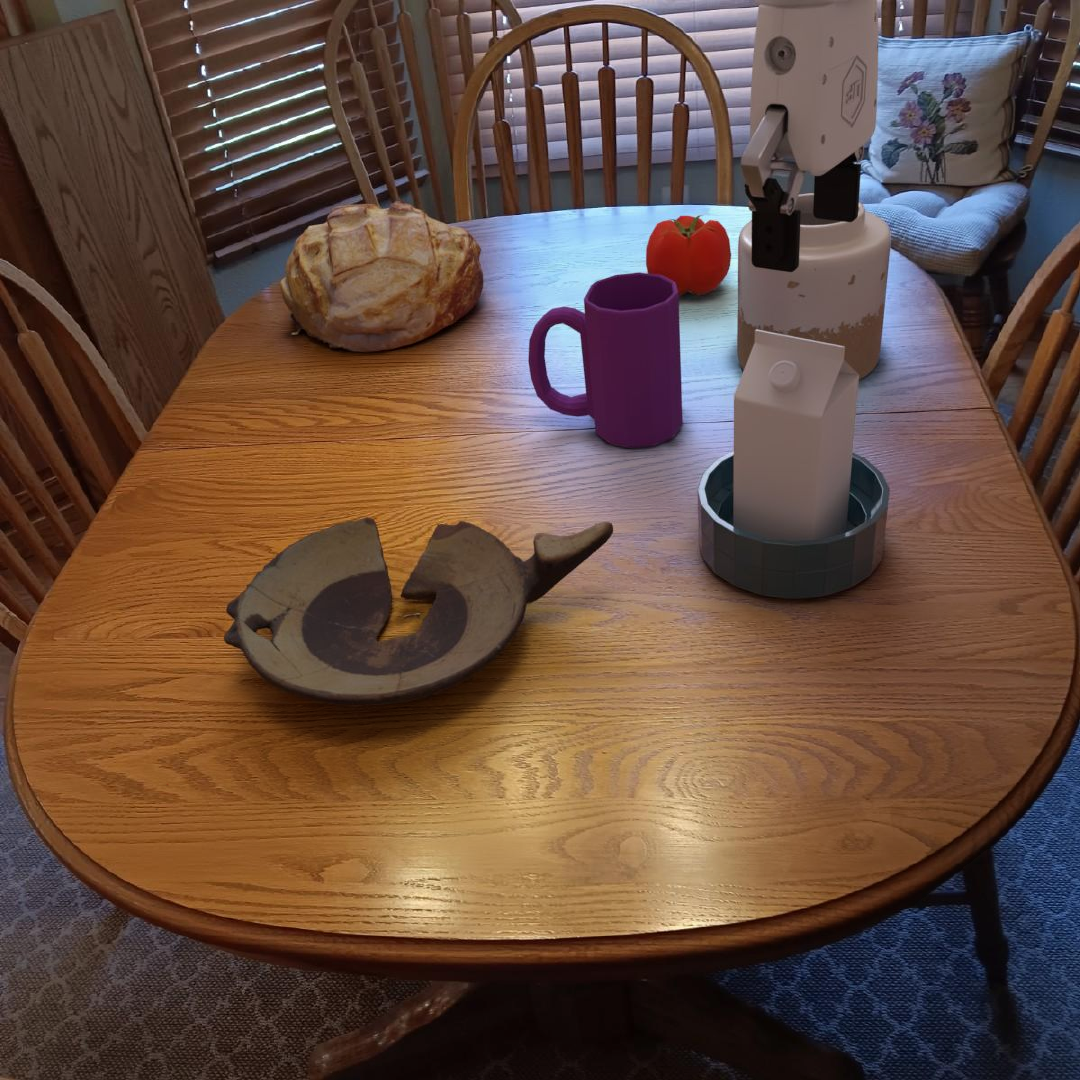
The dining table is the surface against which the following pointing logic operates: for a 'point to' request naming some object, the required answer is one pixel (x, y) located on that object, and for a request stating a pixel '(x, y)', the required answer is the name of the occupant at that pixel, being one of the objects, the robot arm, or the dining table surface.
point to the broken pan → (365, 603)
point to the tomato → (689, 253)
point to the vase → (820, 287)
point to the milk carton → (793, 439)
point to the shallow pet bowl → (793, 562)
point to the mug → (621, 359)
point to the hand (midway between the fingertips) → (806, 242)
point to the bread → (380, 277)
